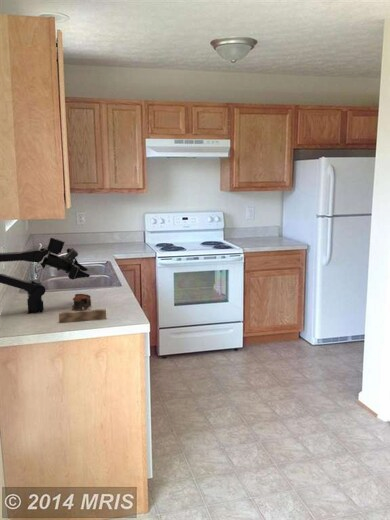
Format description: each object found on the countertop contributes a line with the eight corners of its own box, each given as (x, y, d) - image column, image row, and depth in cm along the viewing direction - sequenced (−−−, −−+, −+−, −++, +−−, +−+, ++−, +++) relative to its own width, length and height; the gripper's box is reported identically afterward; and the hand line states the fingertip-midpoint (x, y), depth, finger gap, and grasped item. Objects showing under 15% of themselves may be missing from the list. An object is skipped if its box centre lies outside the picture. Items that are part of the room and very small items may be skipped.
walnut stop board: (59, 322, 204) (58, 313, 203) (59, 321, 206) (58, 312, 205) (106, 318, 209) (105, 310, 208) (105, 317, 211) (105, 308, 210)
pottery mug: (66, 310, 224) (69, 293, 227) (82, 315, 231) (85, 298, 233) (81, 308, 216) (85, 291, 219) (98, 313, 223) (100, 296, 226)
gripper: (65, 252, 211) (97, 263, 218) (62, 241, 228) (92, 252, 235) (55, 274, 213) (88, 285, 219) (53, 262, 230) (83, 272, 236)
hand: (88, 272), depth 227 cm, fingers open, 9 cm apart
